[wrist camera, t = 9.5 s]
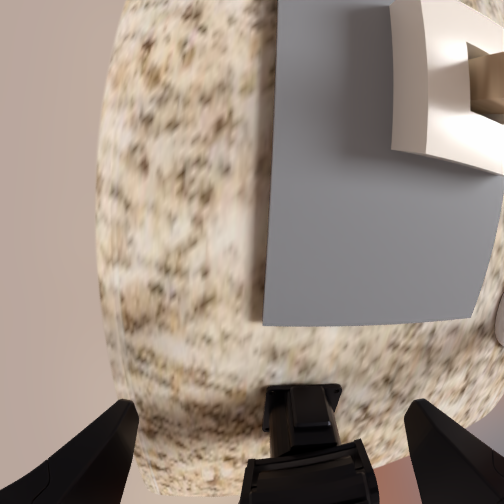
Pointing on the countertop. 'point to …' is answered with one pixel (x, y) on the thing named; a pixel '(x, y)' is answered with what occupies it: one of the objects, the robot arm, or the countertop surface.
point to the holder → (443, 83)
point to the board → (362, 186)
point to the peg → (487, 84)
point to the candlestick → (500, 322)
